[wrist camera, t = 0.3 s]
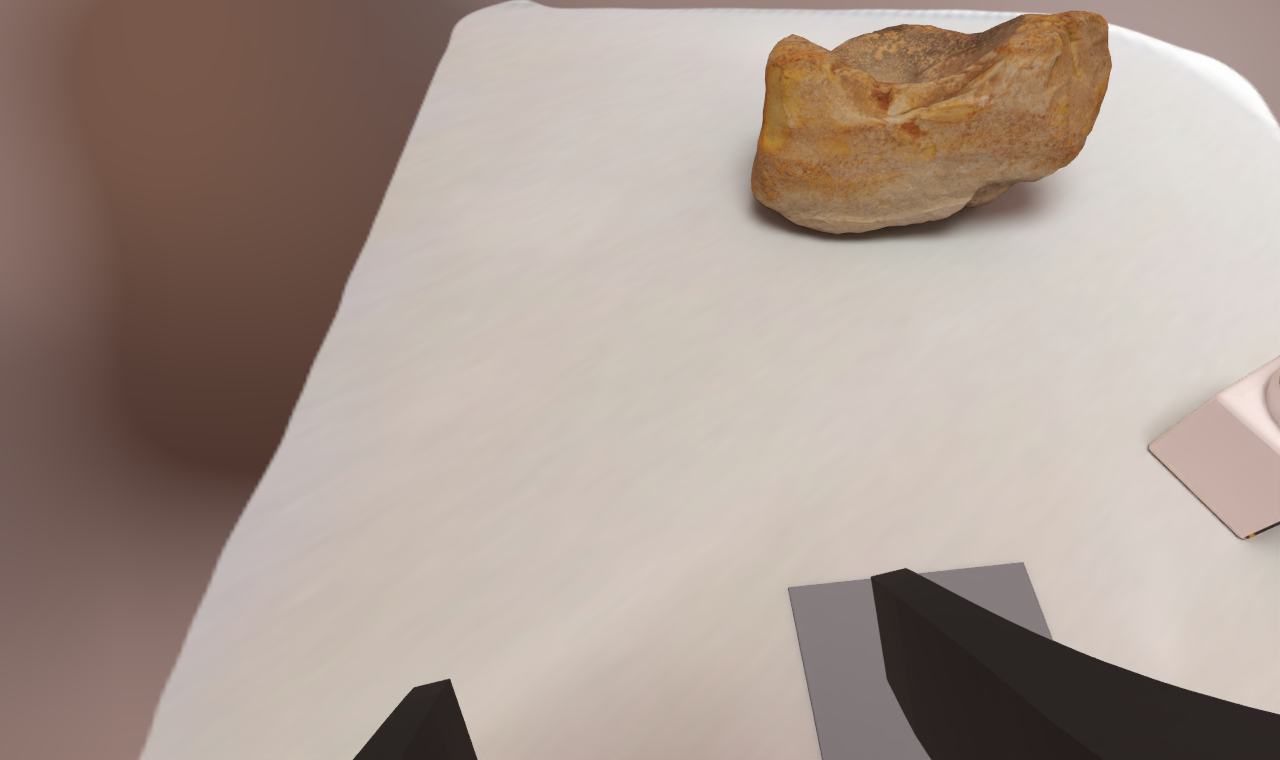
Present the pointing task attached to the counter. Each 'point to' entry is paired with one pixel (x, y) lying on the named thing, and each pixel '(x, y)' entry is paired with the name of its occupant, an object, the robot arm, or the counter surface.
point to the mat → (853, 660)
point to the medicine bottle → (1232, 452)
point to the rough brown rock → (925, 118)
